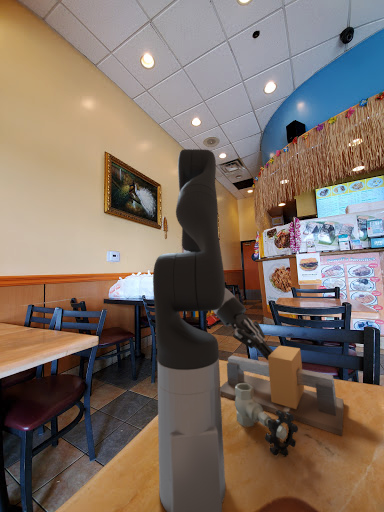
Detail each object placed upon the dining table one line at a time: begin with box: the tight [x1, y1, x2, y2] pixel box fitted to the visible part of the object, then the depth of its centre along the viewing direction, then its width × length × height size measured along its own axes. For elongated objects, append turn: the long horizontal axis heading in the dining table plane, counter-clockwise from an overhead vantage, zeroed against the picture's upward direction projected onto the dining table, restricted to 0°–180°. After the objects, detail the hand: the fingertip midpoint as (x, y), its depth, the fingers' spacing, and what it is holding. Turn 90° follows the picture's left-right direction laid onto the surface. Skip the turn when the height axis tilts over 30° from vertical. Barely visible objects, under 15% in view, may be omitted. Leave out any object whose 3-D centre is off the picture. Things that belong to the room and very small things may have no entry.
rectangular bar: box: [226, 355, 337, 416], centre depth 51 cm, size 24×4×7 cm, turn 53°
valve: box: [234, 383, 299, 458], centre depth 39 cm, size 7×7×12 cm
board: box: [220, 373, 345, 436], centre depth 50 cm, size 26×12×1 cm, turn 53°
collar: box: [267, 345, 305, 409], centre depth 49 cm, size 5×10×10 cm, turn 143°
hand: (272, 357), depth 51 cm, fingers closed
